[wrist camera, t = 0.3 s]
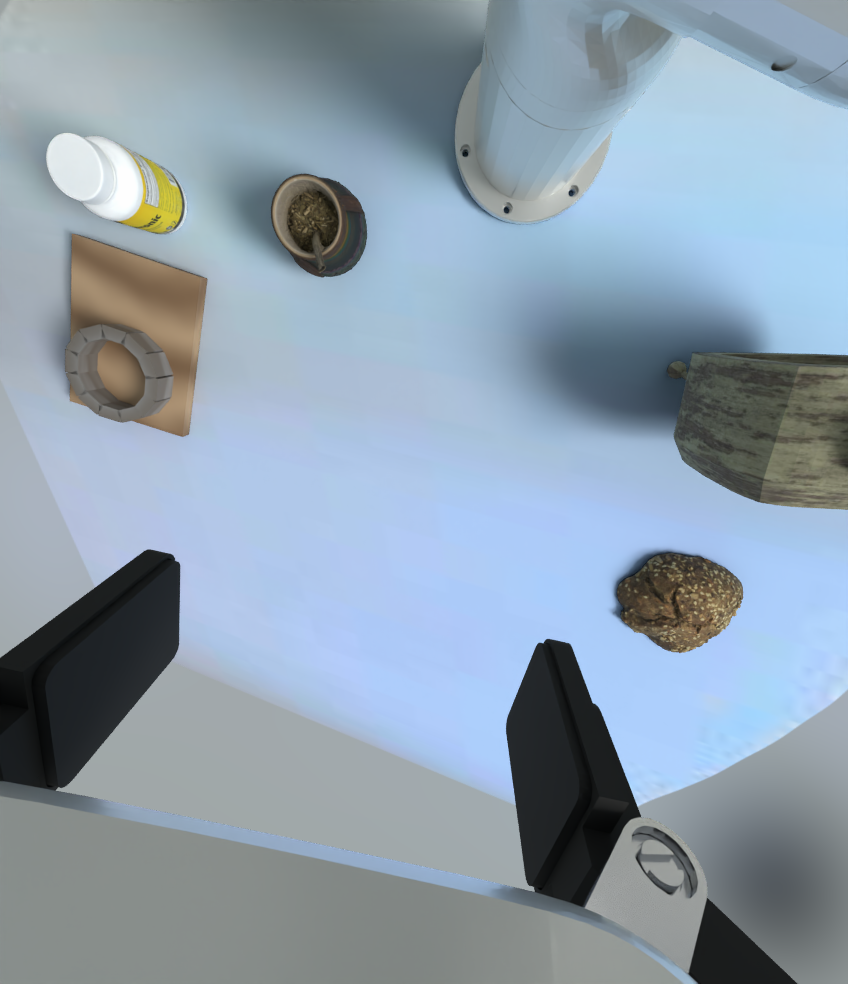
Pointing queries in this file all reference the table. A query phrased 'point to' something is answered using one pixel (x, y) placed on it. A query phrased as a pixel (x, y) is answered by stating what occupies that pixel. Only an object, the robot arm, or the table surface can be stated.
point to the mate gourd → (319, 224)
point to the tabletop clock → (767, 425)
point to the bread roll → (680, 600)
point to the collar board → (143, 309)
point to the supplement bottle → (117, 183)
